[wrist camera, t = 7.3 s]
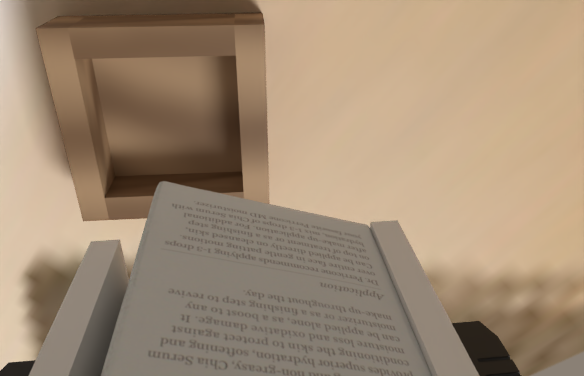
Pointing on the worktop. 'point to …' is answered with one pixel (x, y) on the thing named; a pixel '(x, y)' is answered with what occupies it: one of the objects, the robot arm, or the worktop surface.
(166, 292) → the skincare box
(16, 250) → the worktop surface
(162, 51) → the rectangular wooden frame
